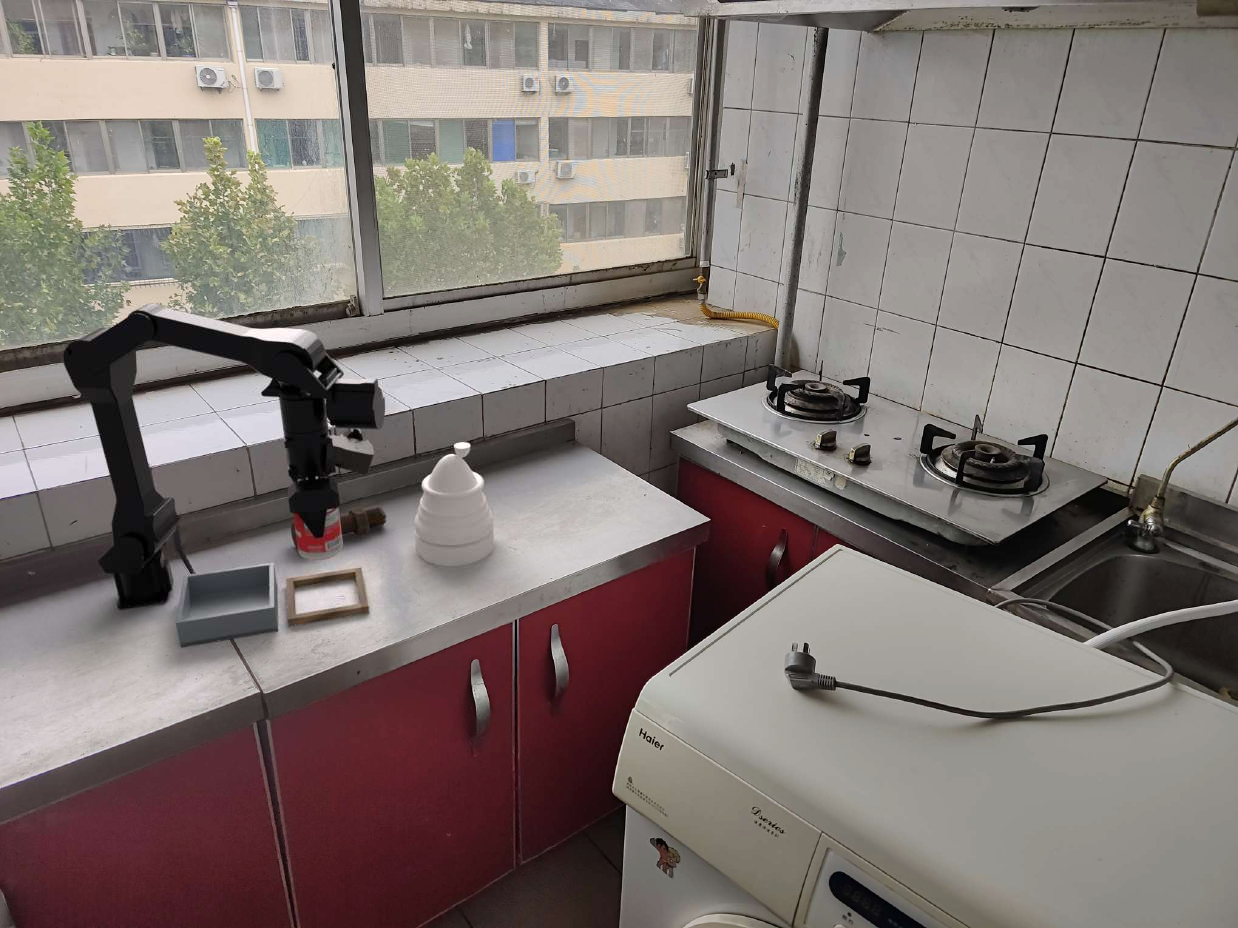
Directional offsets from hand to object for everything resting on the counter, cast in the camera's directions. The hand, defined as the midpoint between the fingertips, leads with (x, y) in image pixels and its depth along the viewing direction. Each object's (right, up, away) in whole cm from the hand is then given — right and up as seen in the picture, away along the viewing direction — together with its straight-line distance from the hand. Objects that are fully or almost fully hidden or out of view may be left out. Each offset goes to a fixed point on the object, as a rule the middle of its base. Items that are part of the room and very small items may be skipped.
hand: (318, 526), depth 118 cm
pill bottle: (0, -4, +2) cm, 4 cm away
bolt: (-4, -4, +22) cm, 22 cm away
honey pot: (+15, -5, +21) cm, 26 cm away
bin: (-13, -13, +1) cm, 18 cm away
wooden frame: (-1, -11, +5) cm, 12 cm away
